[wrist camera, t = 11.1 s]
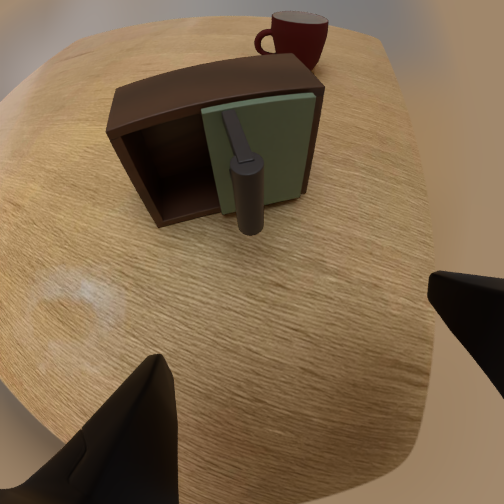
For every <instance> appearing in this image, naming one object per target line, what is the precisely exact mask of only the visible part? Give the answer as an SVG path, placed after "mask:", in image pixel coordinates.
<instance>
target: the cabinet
mask: <svg viewBox="0 0 504 504" xmlns="http://www.w3.org/2000/svg"><path fill="white" fill-rule="evenodd" d="M324 91H325V86H324V85H323V84H322V83H321V82H320V81H319V80H318V79H317V77H316V76H315V75H314V74H313V73H312V72H311V71H310V70H309V69H308V68H307V67H306V66H305V65H304V64H303V63H302V62H301V61H300V60H299V59H298V58H297V57H296V56H295V55H294V54H293V53H285V54H271V55H260V56H251V57H242V58H235V59H228V60H222V61H216V62H211V63H206V64H201V65H196V66H191V67H187V68H183V69H178V70H174V71H171V72H167V73H163V74H159V75H156V76H153V77H149V78H146V79H143V80H140V81H136V82H133V83H130V84H128V85H125V86H122V87H119V88H116V91H115V94H114V98H113V102H112V106H111V110H110V114H109V118H108V123H107V127H106V134H107V136H108V138H109V140H110V142H111V144H112V146H113V148H114V150H115V152H116V154H117V156H118V157H119V159H120V161H121V163H122V165H123V167H124V169H125V171H126V172H127V174H128V176H129V178H130V180H131V182H132V183H133V185H134V187H135V189H136V191H137V192H138V194H139V196H140V198H141V199H142V201H143V203H144V205H145V206H146V208H147V210H148V212H149V213H150V215H151V217H152V218H153V220H154V222H155V223H156V225H157V227H158V228H160V227H163V226H167V225H171V224H175V223H179V222H182V221H186V220H190V219H194V218H198V217H202V216H206V215H210V214H214V213H218V212H222V211H221V207H220V202H219V198H218V193H217V188H216V183H215V179H214V174H213V169H212V164H211V159H210V154H209V149H208V144H207V139H206V134H205V129H204V124H203V119H202V114H201V109H203V108H207V107H212V106H217V105H222V104H227V103H232V102H238V101H244V100H250V99H257V98H264V97H272V96H280V95H290V94H300V93H313V94H314V95H315V96H316V101H315V108H314V115H313V122H312V128H311V134H310V141H309V147H308V153H307V159H306V165H305V171H304V176H303V182H302V188H301V193H300V194H303V193H306V189H307V185H308V180H309V175H310V169H311V164H312V159H313V154H314V149H315V143H316V138H317V132H318V127H319V121H320V115H321V109H322V103H323V96H324Z"/></svg>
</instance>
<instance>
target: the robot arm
mask: <svg viewBox="0 0 504 504" xmlns="http://www.w3.org/2000/svg"><path fill="white" fill-rule="evenodd" d="M427 297H428V300H429V302H430V303H431V305H432V306H433V307H434V309H435V310H436V311H437V313H438V314H439V315H440V317H441V318H442V320H443V321H444V322H445V324H446V325H447V326H448V328H449V329H450V331H451V332H452V333H453V334H454V335H455V336H456V338H457V339H458V340H459V341H460V342H461V344H462V345H463V346H464V347H465V348H466V350H467V351H468V352H469V353H470V355H471V356H472V357H473V358H474V360H475V361H476V362H477V364H478V365H479V366H480V367H481V369H482V370H483V371H484V373H485V374H486V375H487V376H488V378H489V379H490V381H491V382H492V383H493V385H494V386H495V387H496V389H497V390H498V392H499V393H500V394H501V396H502V397H503V399H504V279H502V278H494V277H486V276H478V275H471V274H462V273H454V272H447V271H436V272H434V273H432V274H431V275H430V276H429V282H428V292H427ZM0 504H179V494H178V421H177V410H176V400H175V389H174V379H173V375H172V372H171V371H170V369H169V367H168V365H167V363H166V361H165V358H164V357H163V355H162V354H154V355H149V356H148V357H146V359H145V360H144V361H143V362H142V363H141V364H140V365H139V366H138V367H137V368H136V369H135V370H134V371H133V373H132V374H131V375H130V376H129V377H128V378H127V379H126V380H125V381H124V382H123V383H122V384H121V386H120V387H119V388H118V389H117V390H116V391H115V392H114V393H113V394H112V395H111V396H110V397H109V399H108V400H107V401H106V402H105V403H104V404H103V405H102V406H101V407H100V408H99V409H98V410H97V412H96V413H95V414H94V415H93V416H92V417H91V418H90V419H89V420H88V421H87V422H86V423H85V425H84V426H83V427H82V429H80V430H79V431H78V432H77V433H76V434H75V435H74V437H73V438H72V439H71V440H70V441H69V442H68V443H67V444H66V445H65V446H64V447H63V448H62V449H61V450H60V451H59V452H58V453H57V454H56V455H55V456H53V457H52V458H51V459H50V460H49V461H48V462H47V463H46V464H45V465H44V466H42V467H41V468H40V469H39V470H38V471H37V472H36V473H35V474H33V475H32V476H31V477H30V478H29V479H28V480H27V481H25V482H24V483H23V484H21V485H19V486H17V487H14V488H10V489H0Z"/></svg>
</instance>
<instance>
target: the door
mask: <svg viewBox="0 0 504 504" xmlns="http://www.w3.org/2000/svg"><path fill="white" fill-rule="evenodd" d="M315 101H316V96H315V95H314V94H313V93H300V94H290V95H280V96H272V97H264V98H257V99H250V100H244V101H238V102H232V103H227V104H222V105H217V106H212V107H207V108H203V109H201V114H202V119H203V124H204V129H205V134H206V139H207V144H208V149H209V154H210V159H211V164H212V169H213V174H214V179H215V183H216V188H217V193H218V198H219V202H220V207H221V211H222V214H223V215H224V214H228V213H232V212H236V215H237V222H238V228H239V230H240V231H241V232H242V233H243V234H245V235H249V236H253V235H256V234H258V233H259V232H261V230H262V229H263V226H264V205H267V204H271V203H276V202H280V201H285V200H290V199H294V198H299V197H300V193H301V188H302V182H303V176H304V171H305V165H306V159H307V153H308V147H309V141H310V134H311V128H312V122H313V115H314V108H315Z"/></svg>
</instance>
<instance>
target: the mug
mask: <svg viewBox="0 0 504 504" xmlns="http://www.w3.org/2000/svg"><path fill="white" fill-rule="evenodd" d="M327 33H328V20H327V19H326V18H325V17H322V16H320V15H316V14H312V13H307V12H299V11H282V12H277V13H274V14H272V25H271V29H265V30H262V31H261V32H259V33H258V34H257V36H256V38H255V41H254V45H255V48H256V50H257V52H258V53H260V54H261V55H271V54H285V53H293V54H294V55H295V56H296V57H297V58H298V59H299V60H300V61H301V62H302V63H303V64H304V65H305V66H306V67H307V68H308V69H309V70H310V71H311V70H312V69H313V68H314V67H315V65H316V64H317V63H318V61H319V58H320V56H321V53H322V50H323V47H324V44H325V41H326V38H327ZM268 35H272V37H273V40H274V45H275V50H276V53H269V52H266V51H264V50H263V49H262V47H261V40H262V39H263V38H264V37H265V36H268Z"/></svg>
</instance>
